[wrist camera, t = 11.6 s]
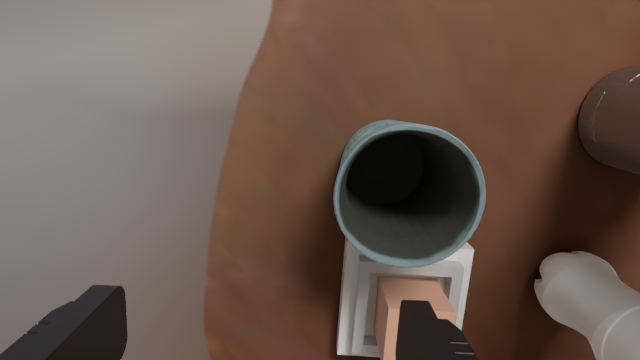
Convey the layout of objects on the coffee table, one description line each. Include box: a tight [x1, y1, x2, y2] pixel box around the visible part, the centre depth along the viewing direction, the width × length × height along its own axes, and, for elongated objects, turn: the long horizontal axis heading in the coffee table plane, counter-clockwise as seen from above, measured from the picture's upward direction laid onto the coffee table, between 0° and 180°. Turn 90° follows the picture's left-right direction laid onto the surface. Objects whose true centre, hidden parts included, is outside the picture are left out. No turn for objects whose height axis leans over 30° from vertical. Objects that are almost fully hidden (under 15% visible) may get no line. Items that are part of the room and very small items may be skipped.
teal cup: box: [333, 120, 486, 268], centre depth 34 cm, size 10×10×12 cm
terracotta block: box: [373, 276, 456, 360], centre depth 38 cm, size 6×6×6 cm
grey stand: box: [336, 237, 474, 357], centre depth 41 cm, size 12×12×4 cm
